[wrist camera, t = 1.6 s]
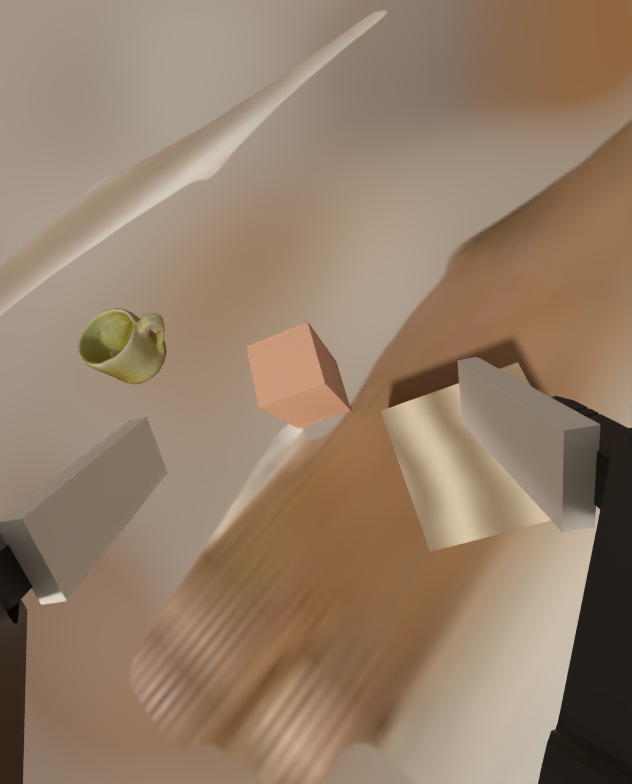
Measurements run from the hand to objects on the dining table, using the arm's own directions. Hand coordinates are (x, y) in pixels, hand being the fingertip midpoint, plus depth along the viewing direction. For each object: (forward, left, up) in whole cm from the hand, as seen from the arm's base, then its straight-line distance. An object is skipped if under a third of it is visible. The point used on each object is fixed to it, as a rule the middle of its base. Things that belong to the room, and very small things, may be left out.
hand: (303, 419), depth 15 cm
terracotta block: (+1, -13, -28) cm, 31 cm away
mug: (+18, -36, -28) cm, 49 cm away
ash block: (-8, +4, -28) cm, 29 cm away
